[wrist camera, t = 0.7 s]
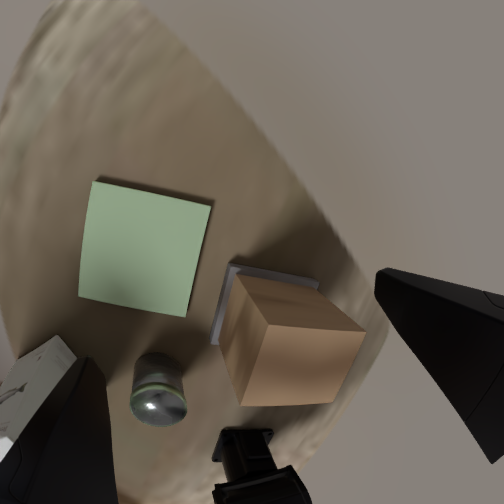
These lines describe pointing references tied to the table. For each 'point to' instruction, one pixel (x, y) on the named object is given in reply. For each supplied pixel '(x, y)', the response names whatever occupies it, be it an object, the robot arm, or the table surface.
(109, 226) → the sage mat
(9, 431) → the supplement box
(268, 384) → the tan box
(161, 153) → the table surface
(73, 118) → the table surface
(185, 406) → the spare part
